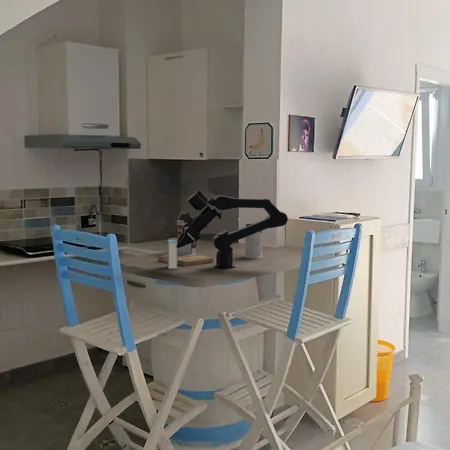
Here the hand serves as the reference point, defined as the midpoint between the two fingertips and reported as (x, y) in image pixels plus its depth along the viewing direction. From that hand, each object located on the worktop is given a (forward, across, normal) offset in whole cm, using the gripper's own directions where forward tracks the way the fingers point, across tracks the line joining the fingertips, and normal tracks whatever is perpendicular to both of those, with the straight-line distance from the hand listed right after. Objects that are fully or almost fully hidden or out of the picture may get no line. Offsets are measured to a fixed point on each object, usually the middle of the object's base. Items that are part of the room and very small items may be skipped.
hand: (176, 245), depth 243 cm
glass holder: (-19, -30, +32) cm, 48 cm away
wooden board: (+3, -15, +10) cm, 18 cm away
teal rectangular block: (+7, 0, +5) cm, 9 cm away
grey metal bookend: (+4, -19, +6) cm, 21 cm away
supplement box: (+2, -37, +11) cm, 39 cm away
